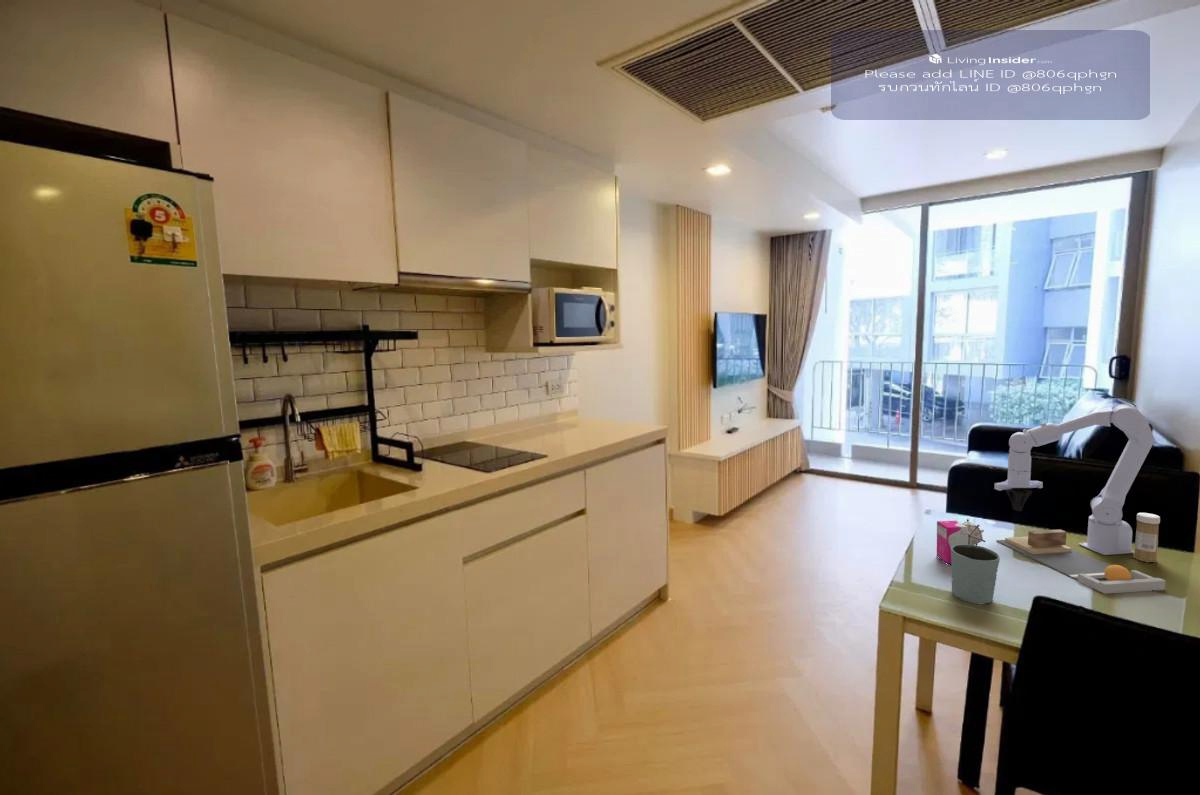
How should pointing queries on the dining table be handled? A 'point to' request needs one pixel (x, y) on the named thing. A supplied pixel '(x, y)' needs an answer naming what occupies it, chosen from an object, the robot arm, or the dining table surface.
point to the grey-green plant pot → (973, 572)
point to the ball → (1117, 573)
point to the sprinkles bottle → (1147, 537)
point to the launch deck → (1083, 567)
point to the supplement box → (949, 538)
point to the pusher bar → (1047, 538)
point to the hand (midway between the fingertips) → (1017, 510)
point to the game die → (973, 533)
